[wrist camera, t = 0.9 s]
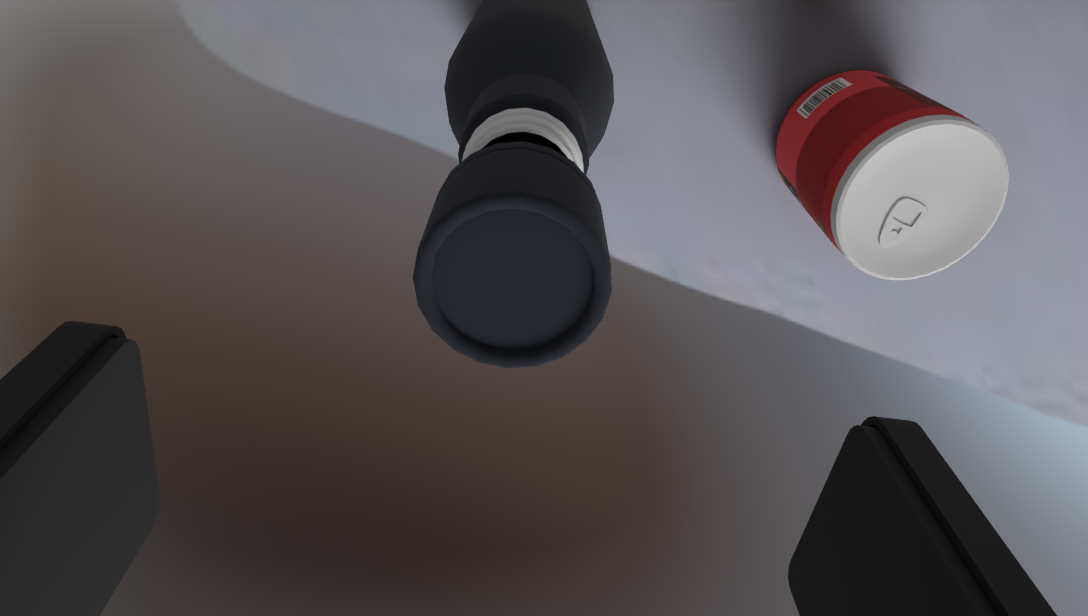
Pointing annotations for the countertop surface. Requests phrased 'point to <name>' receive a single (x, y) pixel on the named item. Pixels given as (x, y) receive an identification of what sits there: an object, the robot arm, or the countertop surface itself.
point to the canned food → (891, 174)
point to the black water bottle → (520, 188)
